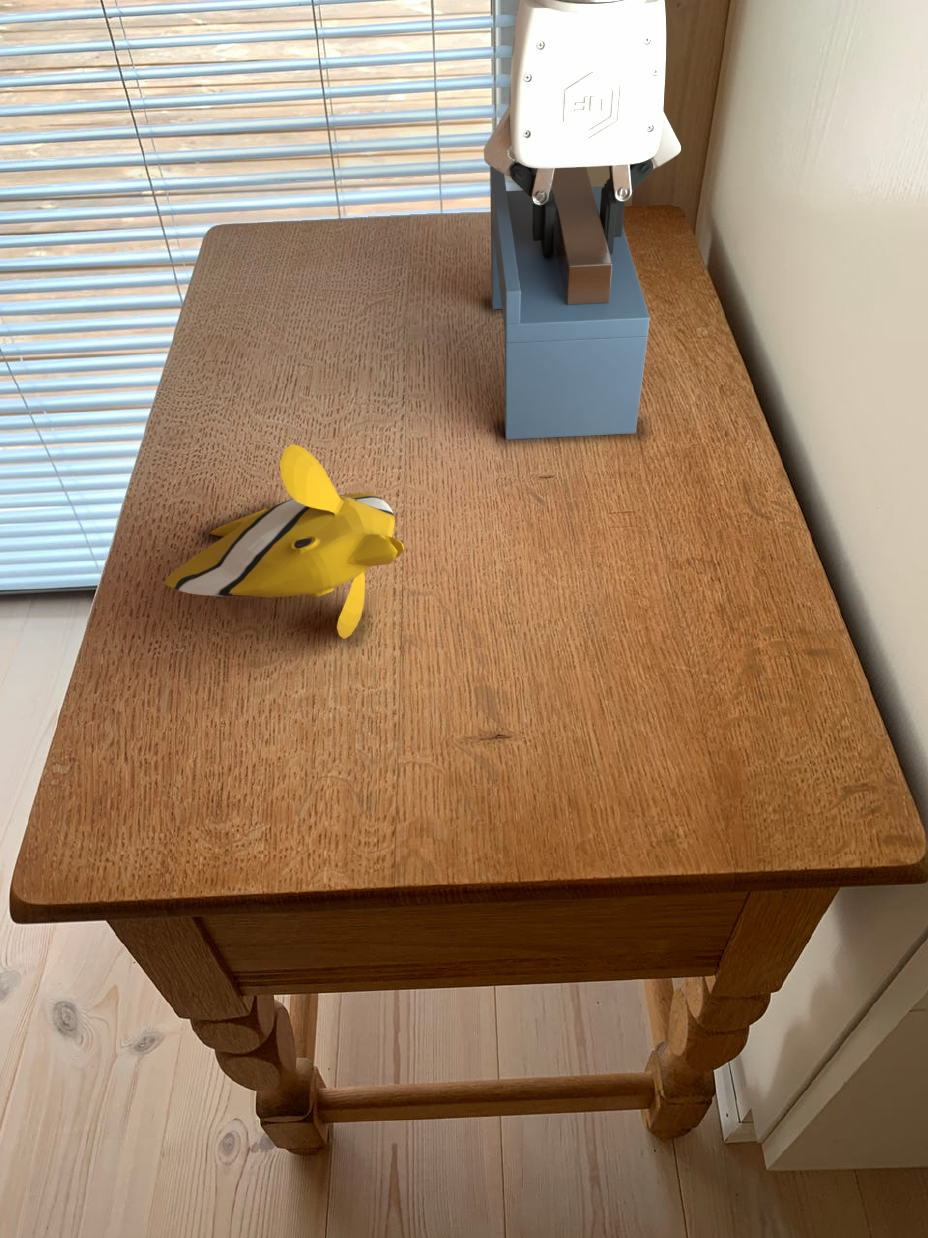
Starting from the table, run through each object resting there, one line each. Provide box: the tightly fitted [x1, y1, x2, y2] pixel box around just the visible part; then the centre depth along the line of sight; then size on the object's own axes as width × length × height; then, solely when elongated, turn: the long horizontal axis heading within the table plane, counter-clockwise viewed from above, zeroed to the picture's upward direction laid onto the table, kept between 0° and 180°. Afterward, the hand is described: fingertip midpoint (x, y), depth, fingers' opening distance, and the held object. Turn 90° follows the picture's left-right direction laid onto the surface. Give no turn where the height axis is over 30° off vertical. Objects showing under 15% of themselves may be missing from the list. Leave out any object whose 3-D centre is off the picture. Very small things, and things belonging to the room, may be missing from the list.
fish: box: [164, 443, 405, 640], centre depth 62 cm, size 20×12×15 cm
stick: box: [551, 167, 612, 305], centre depth 74 cm, size 16×3×3 cm, turn 2°
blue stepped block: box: [489, 165, 651, 440], centre depth 78 cm, size 10×20×12 cm, turn 2°
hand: (576, 243), depth 74 cm, fingers open, 3 cm apart
